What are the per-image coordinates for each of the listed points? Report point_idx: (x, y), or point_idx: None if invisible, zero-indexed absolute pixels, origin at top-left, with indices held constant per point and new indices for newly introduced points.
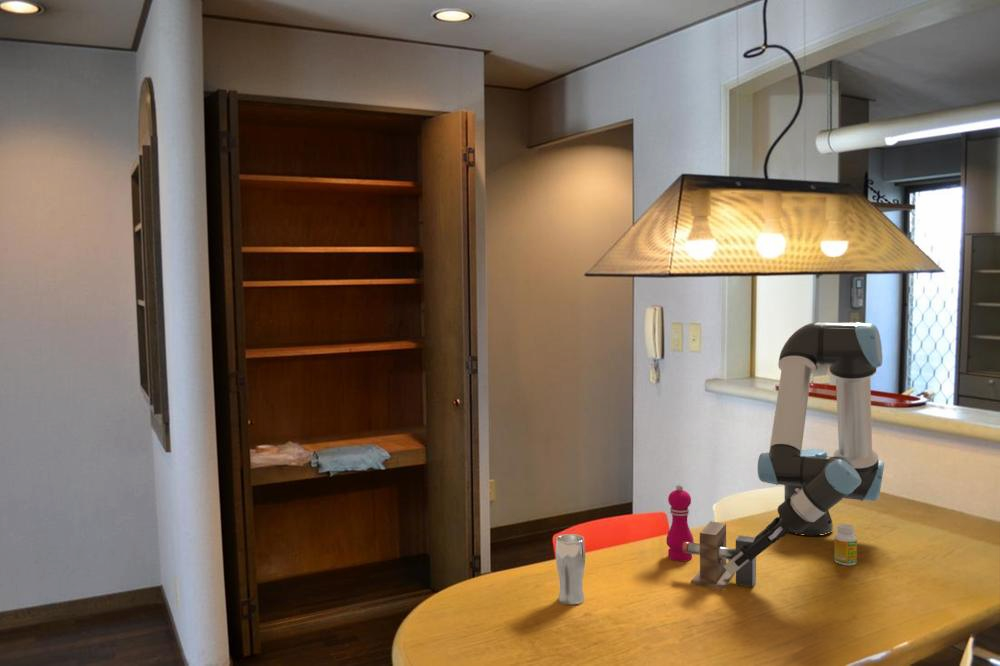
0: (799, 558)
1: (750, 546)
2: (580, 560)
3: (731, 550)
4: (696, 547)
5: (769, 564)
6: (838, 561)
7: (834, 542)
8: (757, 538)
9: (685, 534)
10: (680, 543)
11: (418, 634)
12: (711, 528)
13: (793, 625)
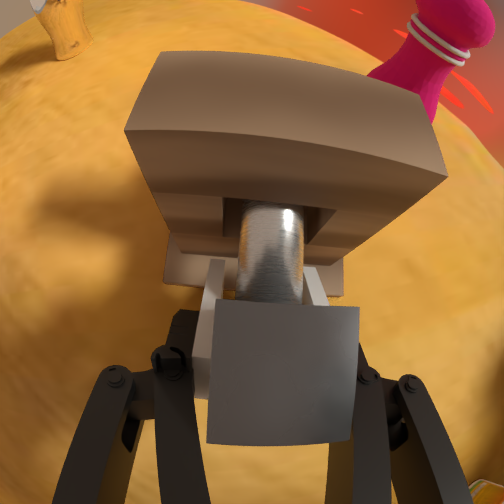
0: (480, 421)
1: (113, 428)
2: (34, 8)
3: (254, 277)
4: None
5: (438, 375)
6: None
7: (501, 491)
8: (349, 446)
9: None
10: None
11: (20, 27)
12: (286, 86)
13: (29, 464)
